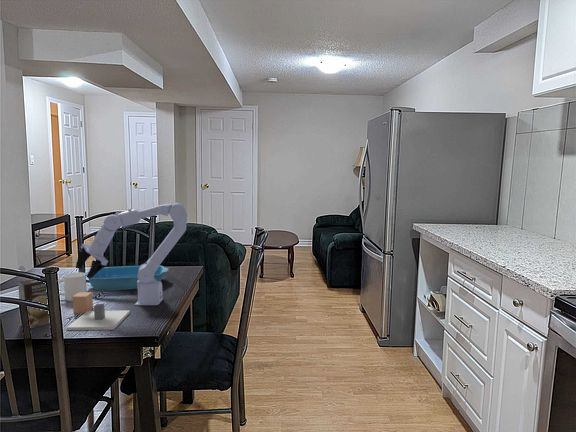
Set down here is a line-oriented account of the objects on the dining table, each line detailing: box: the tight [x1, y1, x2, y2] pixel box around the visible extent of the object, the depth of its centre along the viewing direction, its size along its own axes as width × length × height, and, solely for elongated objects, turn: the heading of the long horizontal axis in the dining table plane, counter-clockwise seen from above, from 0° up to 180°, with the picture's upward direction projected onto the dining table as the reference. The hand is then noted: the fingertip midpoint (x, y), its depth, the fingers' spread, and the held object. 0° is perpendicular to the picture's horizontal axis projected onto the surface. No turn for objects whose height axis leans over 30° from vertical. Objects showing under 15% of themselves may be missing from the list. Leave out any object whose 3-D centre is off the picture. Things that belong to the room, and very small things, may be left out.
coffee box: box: [17, 279, 50, 329], centre depth 146 cm, size 9×6×16 cm
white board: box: [66, 303, 131, 331], centre depth 149 cm, size 16×16×6 cm
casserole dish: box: [85, 264, 169, 292], centre depth 195 cm, size 37×22×7 cm, turn 103°
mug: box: [57, 271, 87, 302], centre depth 174 cm, size 12×8×10 cm
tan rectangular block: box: [72, 291, 94, 314], centre depth 160 cm, size 5×5×7 cm
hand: (83, 272), depth 161 cm, fingers open, 7 cm apart
